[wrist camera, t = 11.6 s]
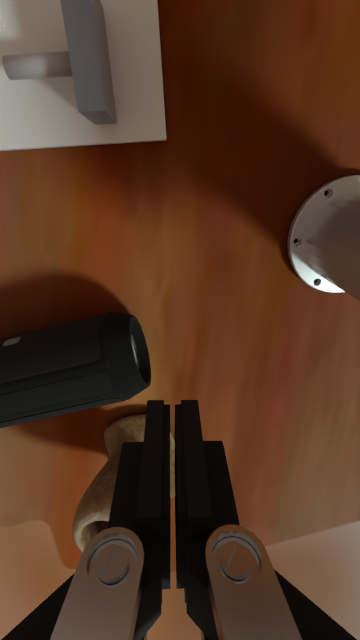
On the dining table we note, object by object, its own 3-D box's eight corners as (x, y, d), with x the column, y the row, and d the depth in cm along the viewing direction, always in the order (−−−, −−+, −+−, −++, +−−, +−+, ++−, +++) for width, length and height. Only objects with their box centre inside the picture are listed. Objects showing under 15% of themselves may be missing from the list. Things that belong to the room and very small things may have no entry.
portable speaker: (132, 294, 38) (121, 331, 29) (154, 363, 42) (151, 415, 33) (-64, 342, 39) (-134, 391, 30) (-25, 404, 43) (-76, 464, 34)
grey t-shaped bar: (103, 9, 26) (85, -37, 20) (116, 123, 29) (105, 110, 24) (5, 14, 26) (-40, -30, 20) (30, 128, 29) (-3, 117, 23)
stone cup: (84, 421, 45) (47, 527, 31) (164, 402, 44) (162, 502, 30) (120, 491, 51) (102, 605, 37) (191, 475, 50) (199, 586, 37)
